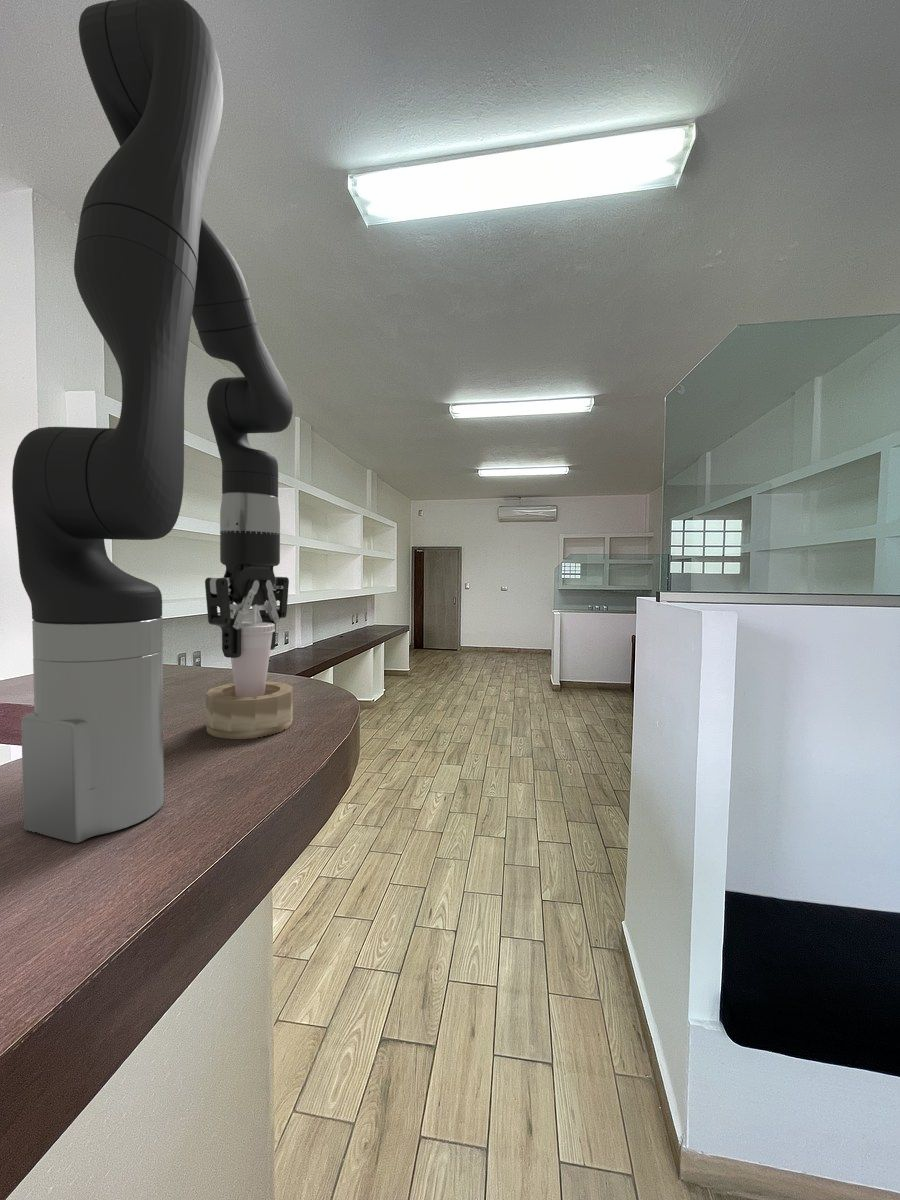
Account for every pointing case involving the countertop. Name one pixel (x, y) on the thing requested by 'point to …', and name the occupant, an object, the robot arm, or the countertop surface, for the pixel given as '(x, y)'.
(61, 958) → the countertop surface
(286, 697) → the ring
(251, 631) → the smoothie
